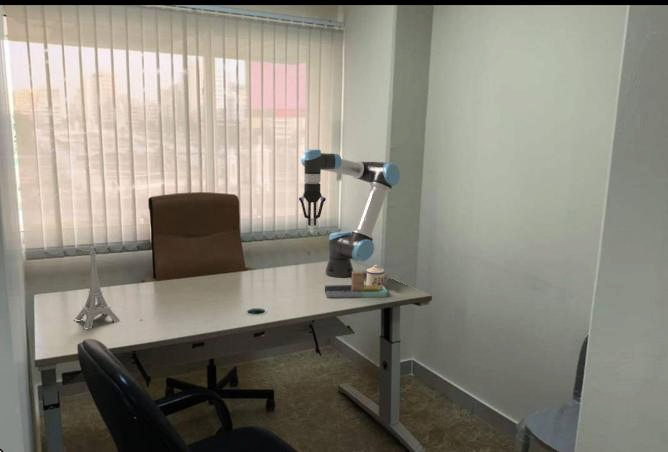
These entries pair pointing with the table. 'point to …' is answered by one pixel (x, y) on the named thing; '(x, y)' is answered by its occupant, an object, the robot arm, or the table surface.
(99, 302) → the eiffel tower
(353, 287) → the block
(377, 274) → the teacup with lid
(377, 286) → the yellow cube
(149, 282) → the table surface
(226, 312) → the table surface
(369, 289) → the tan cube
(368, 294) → the tray
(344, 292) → the slot board
